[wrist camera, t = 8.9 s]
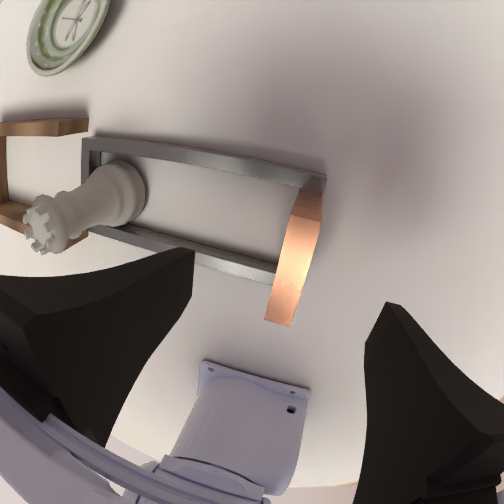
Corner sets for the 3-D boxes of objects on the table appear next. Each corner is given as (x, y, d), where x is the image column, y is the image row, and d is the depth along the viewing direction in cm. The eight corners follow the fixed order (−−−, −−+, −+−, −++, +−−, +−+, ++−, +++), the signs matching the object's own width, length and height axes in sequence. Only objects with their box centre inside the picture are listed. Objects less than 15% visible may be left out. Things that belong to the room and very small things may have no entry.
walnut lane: (88, 118, 17) (58, 121, 14) (88, 236, 21) (63, 251, 18) (2, 122, 19) (-20, 127, 16) (5, 207, 23) (-14, 216, 20)
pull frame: (326, 175, 15) (328, 199, 10) (297, 281, 18) (285, 340, 13) (93, 136, 17) (32, 148, 12) (92, 223, 20) (41, 253, 15)
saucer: (64, -17, 12) (45, -22, 10) (147, -38, 11) (128, -50, 9) (36, 78, 16) (15, 79, 14) (108, 76, 15) (85, 75, 13)
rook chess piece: (92, 191, 19) (9, 229, 12) (118, 145, 17) (23, 169, 10) (129, 232, 20) (51, 287, 13) (161, 189, 18) (72, 234, 11)
